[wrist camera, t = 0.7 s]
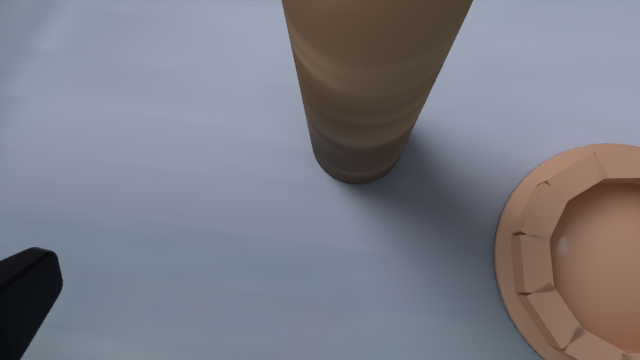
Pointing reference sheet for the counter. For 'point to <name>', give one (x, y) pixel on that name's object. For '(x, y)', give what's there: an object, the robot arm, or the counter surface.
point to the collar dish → (574, 255)
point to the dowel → (367, 75)
